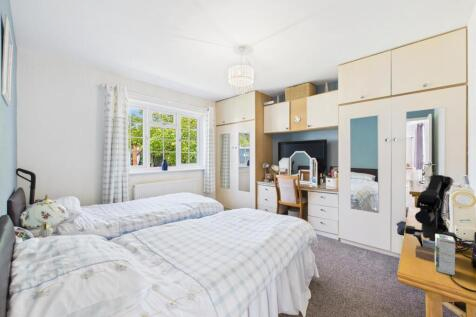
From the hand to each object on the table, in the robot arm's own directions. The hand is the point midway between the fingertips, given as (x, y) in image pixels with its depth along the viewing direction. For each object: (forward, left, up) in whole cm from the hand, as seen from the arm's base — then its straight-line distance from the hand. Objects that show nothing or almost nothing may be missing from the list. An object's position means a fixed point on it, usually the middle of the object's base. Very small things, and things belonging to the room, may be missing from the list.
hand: (429, 250), depth 103 cm
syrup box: (+17, +4, -1) cm, 18 cm away
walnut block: (+6, -2, -1) cm, 7 cm away
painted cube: (0, 0, -1) cm, 1 cm away
